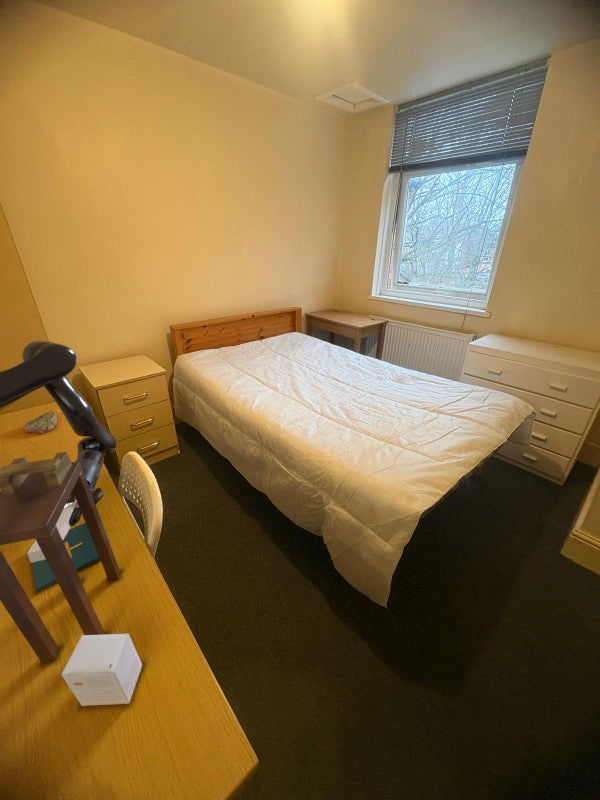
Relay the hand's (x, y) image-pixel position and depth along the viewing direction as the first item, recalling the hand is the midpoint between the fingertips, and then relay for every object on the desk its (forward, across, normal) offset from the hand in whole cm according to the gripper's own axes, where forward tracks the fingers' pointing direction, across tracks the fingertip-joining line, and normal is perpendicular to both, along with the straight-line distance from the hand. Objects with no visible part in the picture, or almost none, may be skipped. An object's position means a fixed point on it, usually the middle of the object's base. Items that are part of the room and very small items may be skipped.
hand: (60, 525), depth 75 cm
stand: (+17, +7, +9) cm, 21 cm away
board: (0, -1, +9) cm, 9 cm away
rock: (-70, -31, +10) cm, 77 cm away
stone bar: (+2, 0, 0) cm, 2 cm away
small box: (+32, +15, +9) cm, 37 cm away
